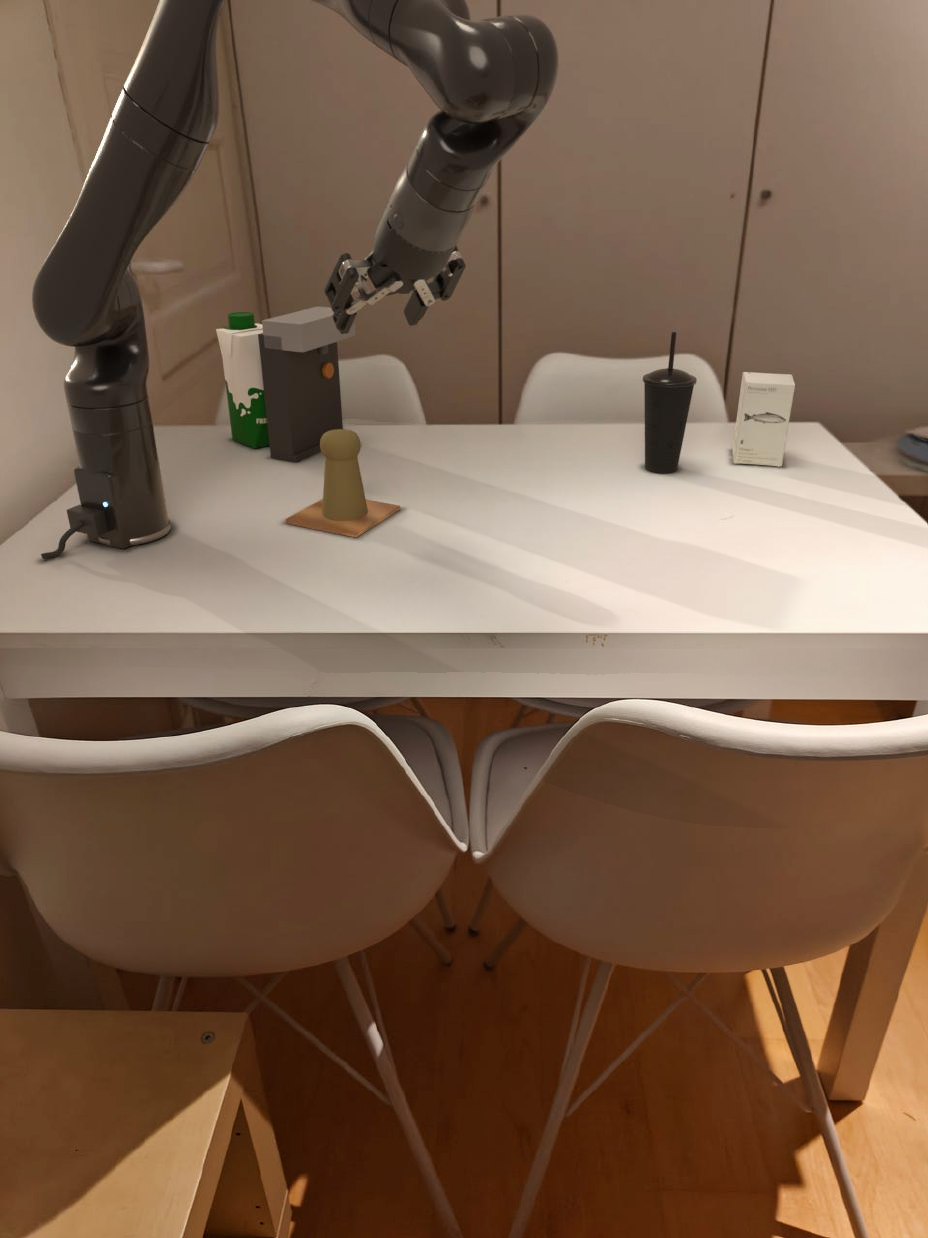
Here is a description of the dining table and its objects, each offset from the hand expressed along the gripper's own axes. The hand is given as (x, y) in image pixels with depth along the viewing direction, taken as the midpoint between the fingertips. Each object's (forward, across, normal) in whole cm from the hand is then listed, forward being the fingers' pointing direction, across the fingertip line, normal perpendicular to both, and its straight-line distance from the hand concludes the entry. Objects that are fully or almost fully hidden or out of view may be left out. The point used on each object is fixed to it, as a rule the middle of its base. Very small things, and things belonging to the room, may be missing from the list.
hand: (375, 323), depth 102 cm
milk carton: (+55, -4, -17) cm, 57 cm away
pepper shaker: (+27, 0, +10) cm, 29 cm away
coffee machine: (+48, -9, -10) cm, 50 cm away
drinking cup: (+21, -49, +17) cm, 56 cm away
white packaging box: (+18, -64, +20) cm, 70 cm away
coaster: (+27, 0, +11) cm, 29 cm away
